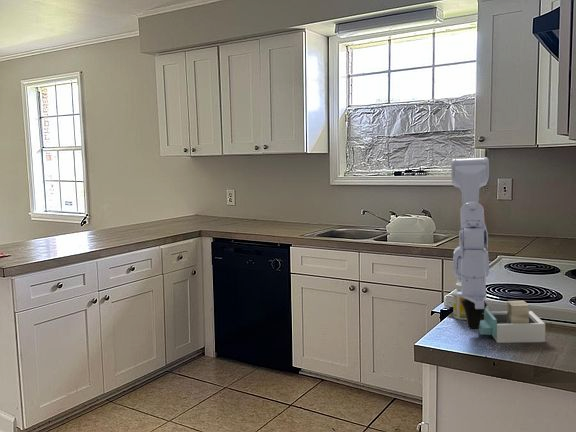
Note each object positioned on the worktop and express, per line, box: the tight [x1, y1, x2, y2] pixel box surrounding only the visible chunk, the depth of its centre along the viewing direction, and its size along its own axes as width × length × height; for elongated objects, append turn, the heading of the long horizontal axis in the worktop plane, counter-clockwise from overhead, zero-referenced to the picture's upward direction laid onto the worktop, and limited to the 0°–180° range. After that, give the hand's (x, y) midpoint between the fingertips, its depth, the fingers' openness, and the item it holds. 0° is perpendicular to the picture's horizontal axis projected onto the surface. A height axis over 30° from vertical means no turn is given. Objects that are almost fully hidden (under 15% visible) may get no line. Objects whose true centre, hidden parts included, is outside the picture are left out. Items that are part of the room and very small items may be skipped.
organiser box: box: [490, 310, 546, 344], centre depth 134 cm, size 10×11×4 cm
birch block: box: [506, 300, 530, 324], centre depth 134 cm, size 4×4×6 cm
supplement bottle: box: [452, 282, 467, 321], centre depth 149 cm, size 5×5×10 cm
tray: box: [477, 307, 537, 338], centre depth 134 cm, size 9×13×4 cm
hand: (473, 328), depth 135 cm, fingers closed, pressing on tray
